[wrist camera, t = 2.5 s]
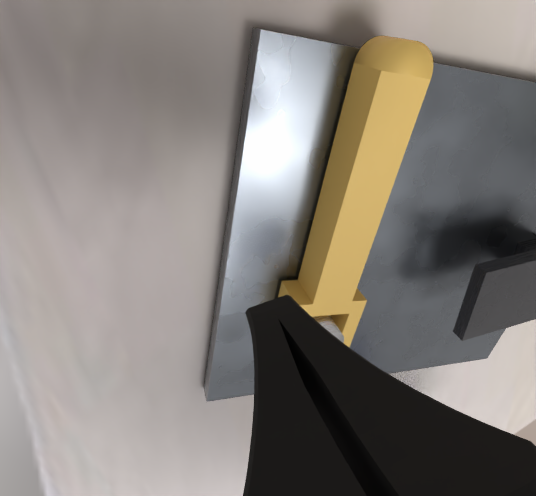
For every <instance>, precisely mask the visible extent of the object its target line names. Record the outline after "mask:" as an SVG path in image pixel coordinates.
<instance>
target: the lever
mask: <svg viewBox="0 0 536 496" xmlns="http://www.w3.org/2000/svg"><path fill="white" fill-rule="evenodd" d="M432 73H433V57H432V54H431V52H430V50H429V48H428V47H427V46H426V45H425V44H423V43H421V42H418V41H413V40H407V39H401V38H395V37H389V36H376V37H374V38H372V39H370V40H369V41H367V42H366V43H365V44H364V45H363V46H362V47H361V49H360V50H359V52H358V53H357V55H356V58H355V61H354V64H353V68H352V72H351V76H350V80H349V84H348V88H347V91H346V95H345V99H344V103H343V107H342V111H341V115H340V118H339V122H338V126H337V130H336V134H335V138H334V142H333V145H332V149H331V153H330V157H329V161H328V165H327V169H326V173H325V176H324V180H323V184H322V188H321V192H320V196H319V200H318V203H317V207H316V211H315V215H314V219H313V223H312V227H311V230H310V234H309V238H308V242H307V246H306V250H305V254H304V258H303V261H302V265H301V269H300V273H299V277H298V280H287V281H282V282H281V286H280V291H279V295H278V297H281V296H284V295H289V296H291V297H292V298H293V299H294V300H295V301H296V302H297V303H298V304H299V305H300V306H301V307H302V308H303V309H304V310H305V311H306V312H307V313H308V314H309V315H310V316H312V317H315V316H326V315H330V316H331V318H332V319H333V321H334V322H335V324H336V325H337V327H338V328H339V330H340V331H341V333H342V335H343V336H344V344H345V345H347V346H348V347H350V345H351V342H352V339H353V337H354V334H355V331H356V329H357V326H358V323H359V321H360V318H361V315H362V313H363V310H364V307H365V305H366V302H367V299H366V298H365V297H364V296H363V295H362V293H361V292H360V291H359V290H358V288H357V286H358V283H359V280H360V278H361V275H362V272H363V269H364V266H365V264H366V261H367V258H368V255H369V252H370V249H371V247H372V244H373V241H374V238H375V235H376V233H377V230H378V227H379V224H380V221H381V218H382V216H383V213H384V210H385V207H386V204H387V201H388V199H389V196H390V193H391V190H392V187H393V185H394V182H395V179H396V176H397V173H398V170H399V168H400V165H401V162H402V159H403V156H404V154H405V151H406V148H407V145H408V142H409V139H410V137H411V134H412V131H413V128H414V125H415V122H416V120H417V117H418V114H419V111H420V108H421V106H422V103H423V100H424V97H425V94H426V91H427V89H428V86H429V83H430V80H431V77H432Z"/></svg>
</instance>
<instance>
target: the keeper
mask: <svg viewBox="0 0 536 496" xmlns="http://www.w3.org/2000/svg"><path fill="white" fill-rule="evenodd" d="M534 319H536V238H535V239H531V240H526V241H522V242H518V243H517V245H516V248H515V251H514V253H513V255H511V256H507V257H503V258H499V259H495V260H491V261H486V262H482V263H478V264H475V266H474V269H473V272H472V275H471V278H470V281H469V284H468V287H467V290H466V293H465V296H464V299H463V302H462V305H461V308H460V311H459V314H458V317H457V320H456V323H455V326H454V329H453V332H454V333H455V334H456V335H457V336H458V337H459V338H460V339H461V340H462V341H464V340H467V339H471V338H474V337H477V336H481V335H484V334H487V333H491V332H494V331H497V330H501V329H504V328H507V327H511V326H514V325H517V324H521V323H524V322H527V321H531V320H534Z"/></svg>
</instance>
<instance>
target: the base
mask: <svg viewBox="0 0 536 496" xmlns="http://www.w3.org/2000/svg"><path fill="white" fill-rule="evenodd" d="M360 49H361V48H357V47H352V46H346V45H341V44H336V43H331V42H326V41H321V40H315V39H310V38H305V37H300V36H295V35H290V34H285V33H279V32H274V31H269V30H264V29H259V28H254V27H253V32H252V39H251V46H250V54H249V61H248V68H247V76H246V83H245V90H244V98H243V105H242V112H241V120H240V127H239V134H238V141H237V149H236V156H235V163H234V171H233V178H232V185H231V193H230V200H229V207H228V215H227V222H226V229H225V237H224V244H223V251H222V259H221V266H220V273H219V281H218V288H217V295H216V303H215V310H214V317H213V324H212V332H211V339H210V346H209V354H208V361H207V368H206V376H205V383H204V392H205V396H206V401H214V400H220V399H227V398H233V397H240V396H246V395H253V394H254V357H253V344H252V336H251V331H250V328H249V324H248V320H247V317H246V313H245V312H246V310H247V309H248V308H250V307H253V306H256V305H258V304H261V303H264V302H267V301H270V300H273V299H276V298H278V295H279V291H280V286H281V282H282V281H287V280H298V277H299V273H300V269H301V265H302V261H303V258H304V254H305V250H306V246H307V242H308V238H309V234H310V230H311V227H312V223H313V219H314V215H315V211H316V207H317V203H318V200H319V196H320V192H321V188H322V184H323V180H324V176H325V173H326V169H327V165H328V161H329V157H330V153H331V149H332V145H333V142H334V138H335V134H336V130H337V126H338V122H339V118H340V115H341V111H342V107H343V103H344V99H345V95H346V91H347V88H348V84H349V80H350V76H351V72H352V68H353V64H354V61H355V58H356V55H357V53H358V52H359V50H360ZM535 238H536V82H532V81H527V80H522V79H516V78H511V77H506V76H501V75H496V74H491V73H486V72H480V71H475V70H470V69H465V68H460V67H455V66H449V65H444V64H439V63H434V62H433V73H432V77H431V80H430V83H429V86H428V89H427V91H426V94H425V97H424V100H423V103H422V106H421V108H420V111H419V114H418V117H417V120H416V122H415V125H414V128H413V131H412V134H411V137H410V139H409V142H408V145H407V148H406V151H405V154H404V156H403V159H402V162H401V165H400V168H399V170H398V173H397V176H396V179H395V182H394V185H393V187H392V190H391V193H390V196H389V199H388V201H387V204H386V207H385V210H384V213H383V216H382V218H381V221H380V224H379V227H378V230H377V233H376V235H375V238H374V241H373V244H372V247H371V249H370V252H369V255H368V258H367V261H366V264H365V266H364V269H363V272H362V275H361V278H360V280H359V283H358V286H357V288H358V290H359V291H360V292H361V293H362V295H363V296H364V297H365V298H366V299H367V302H366V305H365V307H364V310H363V313H362V315H361V318H360V321H359V323H358V326H357V329H356V331H355V334H354V337H353V339H352V342H351V345H350V347H349V348H351V349H352V350H353V351H355V352H356V353H358V354H359V355H360V356H362V357H363V358H365V359H366V360H368V361H369V362H370V363H372V364H373V365H375V366H377V367H378V368H380V369H381V370H383V371H384V372H386V373H388V374H389V373H395V372H402V371H408V370H415V369H421V368H428V367H434V366H441V365H447V364H454V363H460V362H467V361H473V360H480V359H486V358H488V356H489V354H490V353H491V351H492V350H493V348H494V346H495V345H496V343H497V342H498V340H499V338H500V337H501V335H502V334H503V332H504V331H505V329H506V328H504V329H501V330H497V331H494V332H491V333H487V334H484V335H481V336H477V337H474V338H471V339H467V340H464V341H462V340H461V339H460V338H459V337H458V336H457V335H456V334H455V333H454V332H453V329H454V326H455V323H456V320H457V317H458V314H459V311H460V308H461V305H462V302H463V299H464V296H465V293H466V290H467V287H468V284H469V281H470V278H471V275H472V272H473V269H474V266H475V264H478V263H482V262H486V261H491V260H495V259H499V258H503V257H507V256H511V255H513V253H514V251H515V248H516V245H517V243H518V242H522V241H526V240H531V239H535ZM313 318H314V319H315V320H316V321H317V322H318V323H319V324H321V325H322V326H323V327H324V328H325V329H326V330H328V331H329V332H330V333H331V334H333V335H334V336H335V337H336V338H338V339H339V340H340V341H341V342H343V343H344V336H343V335H342V333H341V331H340V330H339V328H338V327H337V325H336V324H335V322H334V321H333V319H332V318H331V316H330V315H326V316H315V317H313Z"/></svg>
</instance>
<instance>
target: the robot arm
mask: <svg viewBox="0 0 536 496" xmlns="http://www.w3.org/2000/svg"><path fill="white" fill-rule="evenodd" d="M245 313H246V317H247V320H248V324H249V328H250V331H251V336H252V344H253V357H254V411H253V425H252V436H251V445H250V454H249V462H248V469H247V476H246V482H245V488H244V493H243V496H536V446H535V445H534V444H533V443H532V442H530V441H528V440H526V439H523V438H520V437H518V436H515V435H513V434H510V433H508V432H505V431H503V430H500V429H498V428H495V427H493V426H491V425H488V424H486V423H483V422H481V421H479V420H476V419H474V418H472V417H470V416H468V415H465V414H463V413H461V412H459V411H456V410H454V409H452V408H450V407H448V406H446V405H444V404H442V403H440V402H438V401H436V400H434V399H433V398H431V397H429V396H427V395H425V394H423V393H421V392H419V391H417V390H415V389H413V388H411V387H410V386H408V385H406V384H404V383H403V382H401V381H399V380H397V379H396V378H394V377H392V376H391V375H389V374H388V373H386V372H384V371H383V370H381V369H380V368H378V367H377V366H375V365H373V364H372V363H370V362H369V361H368V360H366V359H365V358H363V357H362V356H360V355H359V354H358V353H356V352H355V351H353V350H352V349H351V348H349V347H348V346H347V345H345V344H344V343H343V342H341V341H340V340H339V339H338V338H336V337H335V336H334V335H333V334H331V333H330V332H329V331H328V330H326V329H325V328H324V327H323V326H322V325H321V324H319V323H318V322H317V321H316V320H315V319H314V318H313V317H312V316H310V315H309V314H308V313H307V312H306V311H305V310H304V309H303V308H302V307H301V306H300V305H299V304H298V303H297V302H296V301H295V300H294V299H293V298H292V297H291V296H289V295H284V296H281V297H278V298H276V299H273V300H270V301H267V302H264V303H261V304H258V305H256V306H253V307H250V308H248V309H247V310H246V312H245Z"/></svg>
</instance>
